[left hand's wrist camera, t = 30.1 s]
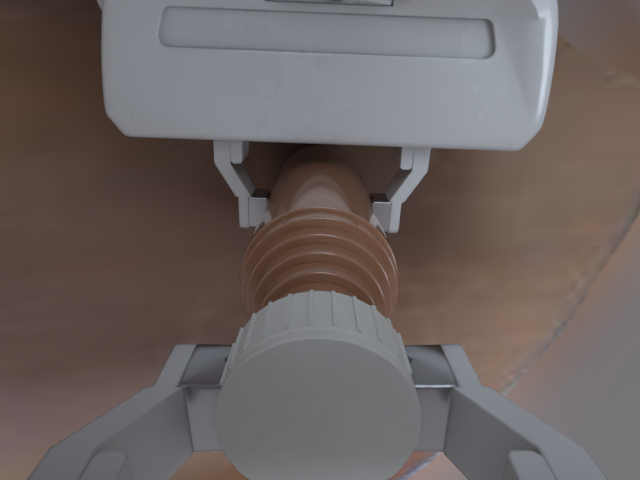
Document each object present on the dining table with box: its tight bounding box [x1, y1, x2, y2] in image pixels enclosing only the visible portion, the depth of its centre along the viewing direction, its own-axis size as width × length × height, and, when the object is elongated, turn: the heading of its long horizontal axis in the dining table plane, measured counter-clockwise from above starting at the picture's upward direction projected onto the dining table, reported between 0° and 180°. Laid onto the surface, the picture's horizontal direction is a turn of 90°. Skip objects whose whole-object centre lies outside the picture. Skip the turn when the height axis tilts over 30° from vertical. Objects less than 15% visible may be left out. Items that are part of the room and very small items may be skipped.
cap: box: [215, 290, 422, 480], centre depth 10 cm, size 4×4×2 cm
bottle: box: [240, 145, 398, 320], centre depth 19 cm, size 6×5×20 cm
